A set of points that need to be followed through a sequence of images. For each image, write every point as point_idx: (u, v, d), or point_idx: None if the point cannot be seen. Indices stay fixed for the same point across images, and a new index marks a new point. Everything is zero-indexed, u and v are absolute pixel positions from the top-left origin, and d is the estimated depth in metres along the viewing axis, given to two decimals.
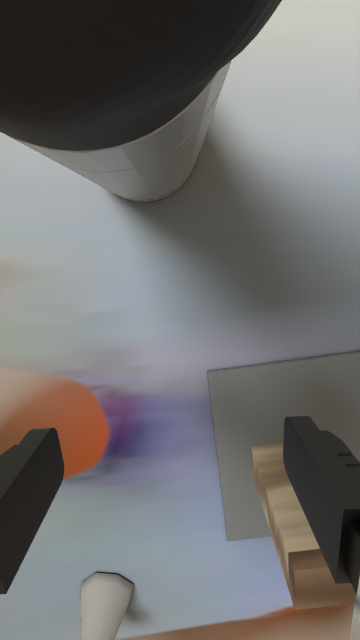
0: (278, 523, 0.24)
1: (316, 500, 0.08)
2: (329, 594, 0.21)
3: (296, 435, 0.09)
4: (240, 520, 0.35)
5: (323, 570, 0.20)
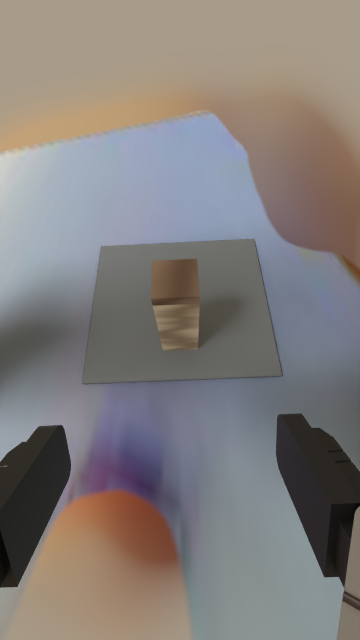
0: (155, 316, 0.29)
1: (305, 495, 0.08)
2: (183, 274, 0.27)
3: (288, 432, 0.09)
4: (251, 361, 0.35)
5: (154, 280, 0.27)
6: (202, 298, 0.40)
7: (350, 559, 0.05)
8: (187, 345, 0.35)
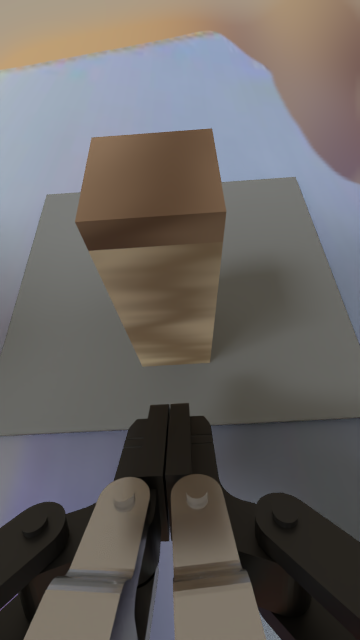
0: (108, 289, 0.11)
1: None
2: (175, 161, 0.10)
3: None
4: (318, 387, 0.18)
5: (93, 177, 0.09)
6: None
7: (174, 540, 0.06)
8: (189, 356, 0.18)
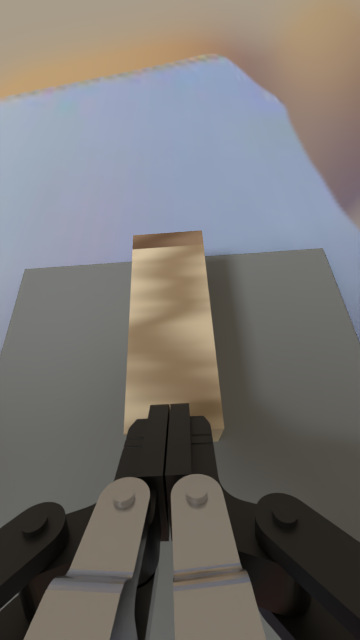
0: (132, 278, 0.17)
1: None
2: None
3: None
4: None
5: None
6: (229, 385, 0.18)
7: (174, 540, 0.06)
8: (192, 399, 0.13)
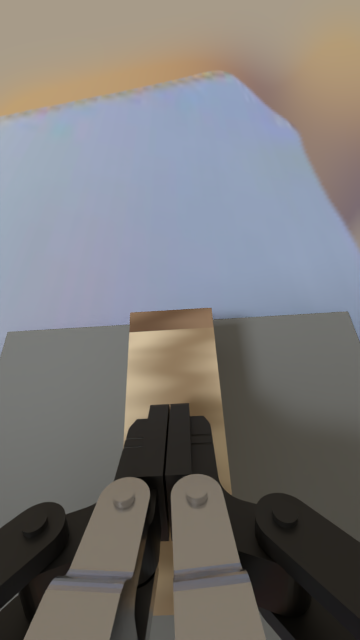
0: (128, 373, 0.14)
1: None
2: None
3: None
4: None
5: None
6: (243, 496, 0.15)
7: (174, 540, 0.06)
8: None
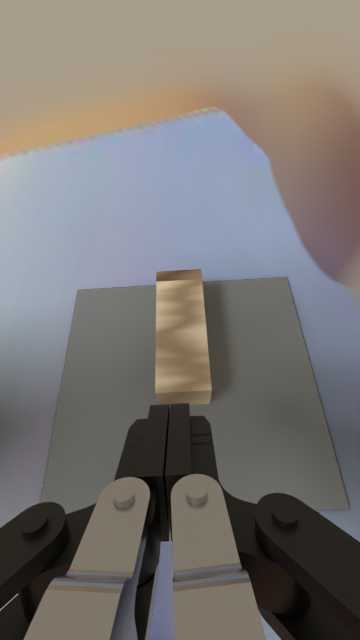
0: (156, 301, 0.27)
1: None
2: None
3: None
4: (299, 483, 0.23)
5: None
6: (218, 370, 0.28)
7: (174, 540, 0.06)
8: (194, 374, 0.23)
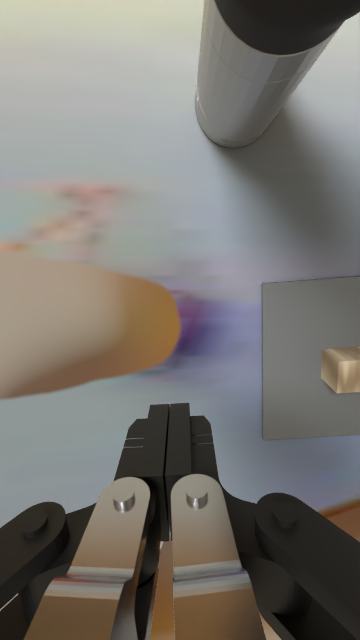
0: None
1: None
2: None
3: None
4: (275, 420, 0.43)
5: None
6: None
7: (173, 540, 0.06)
8: (347, 383, 0.37)
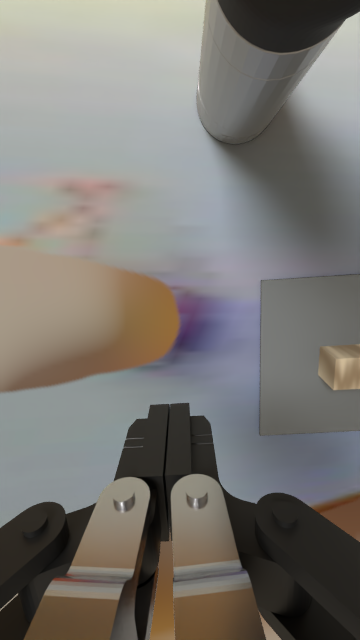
0: None
1: None
2: None
3: None
4: (272, 416, 0.44)
5: None
6: None
7: (174, 540, 0.06)
8: (344, 380, 0.37)
